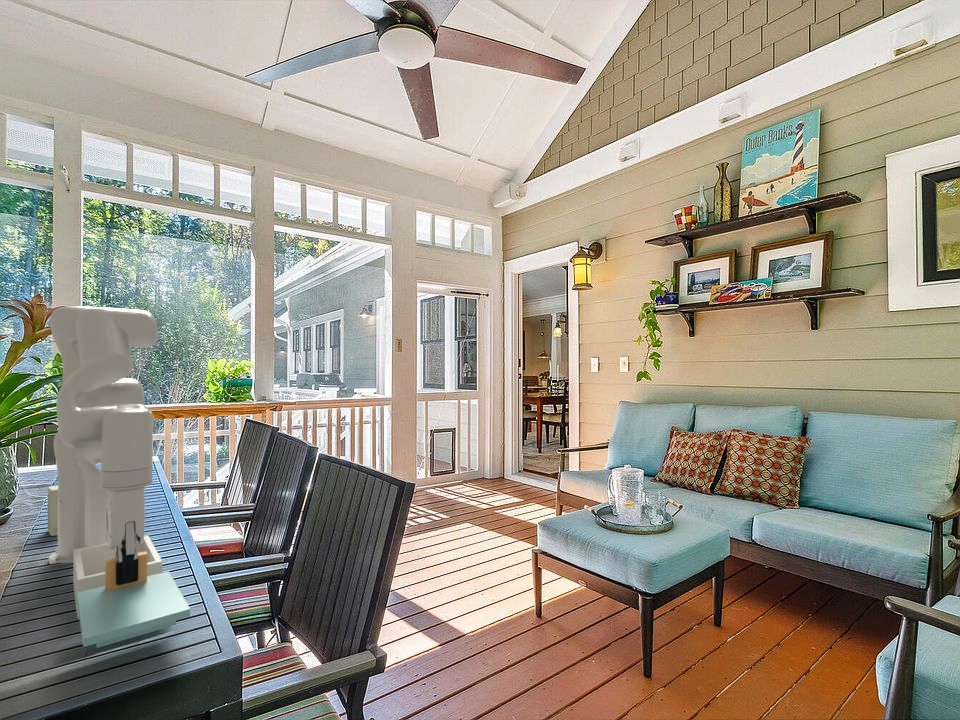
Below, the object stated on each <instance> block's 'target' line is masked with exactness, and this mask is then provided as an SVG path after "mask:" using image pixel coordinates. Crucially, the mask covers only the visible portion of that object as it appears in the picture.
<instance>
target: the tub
mask: <svg viewBox="0 0 960 720" xmlns="http://www.w3.org/2000/svg"><path fill="white" fill-rule="evenodd" d="M145 551H146V552H147V576H151V575H155V574H159V573H163V560H162V558H161V556H160V555H159V553H158V551H157V548H156V547H155V546H154V544H153V541H152V540H151V537H150V535H144V540H143V542H142V543H141V544H139V543H138V553H140V552H145ZM115 557H116V547H115V548H114V549H111V548H109V546H108V543H105V544H100V545H95V546H89V547H84V548H79V549H74V559H73V562H72V563H73V566H72V567H73V569H72V570H73V571H72V573H73V574H72V575H73V579H72V580H73V581H72V584H73V585H72V586H73V594H74V602H75V609H76V617H77V620H78V619H79V611H78V604H77V592H81V591H85V590H90V589H94V588H98V587H103V586H105V559H110V558H115Z"/></svg>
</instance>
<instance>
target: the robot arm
mask: <svg viewBox="0 0 960 720" xmlns="http://www.w3.org/2000/svg"><path fill="white" fill-rule="evenodd" d="M49 323H50V332H51V335H52V339H53V340H54V342H55V344H56V347H57V349H58V351H59V353H60V357H61V360H62V385H61V387H60V389H59V390H58V392H57V396H56V405H55V407H56V417H57V429H58V431H57V432H56V433H55V435H54V437H53V445H52V446H53V452H54V456H55V457H54V458H55V464H56V469H57V470H56V471H57V486H58V535H57V550H56V551H54V552H53V553H51V554H50V555H49V556H48V563H49V564H50V565H54V564H70V563H73V559H74V549H79V548H84V547H89V546H95V545H100V544H105V543H108V546H109V548H111V549H114V548H115V547H116V557H118V562H116V585H122V584H127V583H131V582H135V581H137V580H138V543H139V544H141V543H142V542H143V540H144V536H145V526H146V525H145V518H146V491H145V490H146V487H149V486H150V485H152V484H153V448H154V447H153V446H154V445H153V437H154V436H153V431H154V425H155V420H154V419H155V418H154V415H153V412H152V411H151V410H150V409H149V408H148V406H146V405H145V404H146V402H145V400H146V399H145V391H144V387H143V385H142V383H141V382H140V381H138V380H137V379H135V378H127V376H129V375H130V373H131V372H132V371H133V368H134V361H133V358H132V353H131V348H151V347H153V346H154V345H155V344H156V343H157V340H158V336H159V327H158V323H157V321H156V318H155V316H154V315H153V314H152V313H151V312H150V311H147V310H146V309H145V310H143V309H133V308H131V309H130V308H120V307H119V308H117V307H116V308H115V307H100V306H99V307H98V306H87V305H86V306H84V305H83V306H82V305H80V306H79V305H69V306H61V307H57V308H56V309H54V310H53V311H52V313H51V314H50V322H49ZM99 463H100V469H99V468H98V467H97V466H96V465H97V464H99Z"/></svg>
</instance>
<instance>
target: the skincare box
mask: <svg viewBox="0 0 960 720" xmlns="http://www.w3.org/2000/svg"><path fill="white" fill-rule="evenodd" d="M48 532H49V533H48ZM47 533H48V534H49V535H50V536H51V537H54V536H58V485H51V486H48V487H47Z"/></svg>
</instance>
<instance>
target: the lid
mask: <svg viewBox="0 0 960 720" xmlns="http://www.w3.org/2000/svg"><path fill="white" fill-rule="evenodd" d="M116 562H118V557H115V558H110V559H105V586H103V587H98V588H94V589H90V590H85V591H81V592H77V604H78V611H79V618H78V619H79V626H80V632H81V641H82V646H83V648H85V647H89V646H92V645H95V644H96V648H97V649H98V648H101V647H102V648H103V647H105V646H108V645H112V644H114V643H119V642H122V641H125V640H126V641H127V640H129V639H132V638H135V637H136V638H137V637H139V636H142V635H146V634H149V633H153V632H156V631H159V630H160V631H161V630H163V629H166V628H170V627H172V626H176V624H177V621H178V620H179V621H180V620H182V619H185V618H189V617H191V607H190V606H189V603H188V602H187V600H186V599H185V597H184V595H183V594H182V592H181V590H180V589H179V587H178V585H177V584H176V581H175V580H174V578H173V576H172V575H171V572H170V571H165V572H162V573H159V574H155V575H151V576H147V552H146V551H145V552H140V553H138V580H137V581H135V582H131V583H127V584H122V585H116Z"/></svg>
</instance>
